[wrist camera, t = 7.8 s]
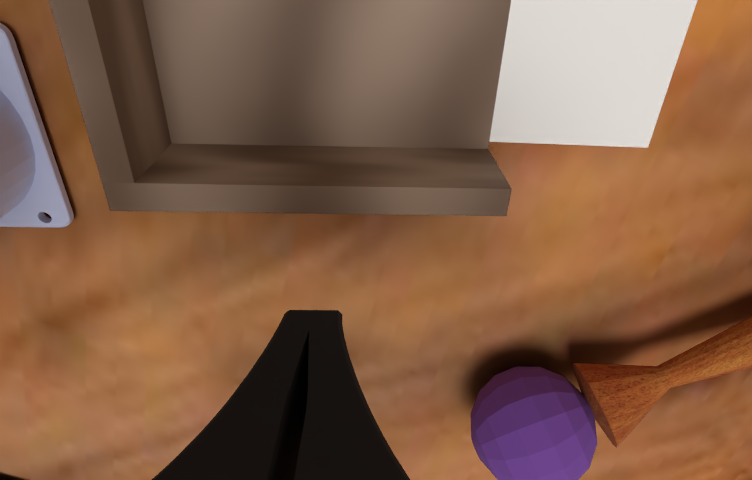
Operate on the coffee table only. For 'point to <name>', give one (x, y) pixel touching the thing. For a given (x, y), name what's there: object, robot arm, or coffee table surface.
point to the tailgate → (587, 70)
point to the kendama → (584, 407)
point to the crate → (290, 103)
